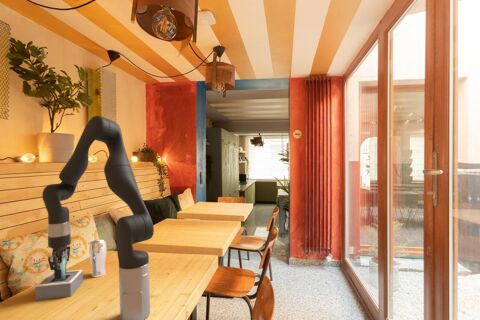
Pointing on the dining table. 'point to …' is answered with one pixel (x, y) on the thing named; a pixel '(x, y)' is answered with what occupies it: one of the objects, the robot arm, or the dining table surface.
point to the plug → (62, 270)
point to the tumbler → (98, 257)
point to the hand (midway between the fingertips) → (60, 276)
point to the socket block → (59, 285)
